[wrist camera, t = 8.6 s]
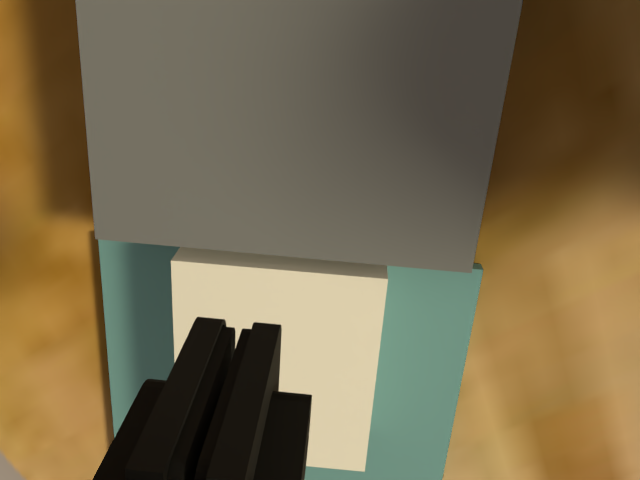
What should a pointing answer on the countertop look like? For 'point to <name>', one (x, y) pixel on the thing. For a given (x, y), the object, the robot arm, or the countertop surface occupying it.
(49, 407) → the countertop surface
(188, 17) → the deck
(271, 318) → the tile
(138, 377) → the mat
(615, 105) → the countertop surface
